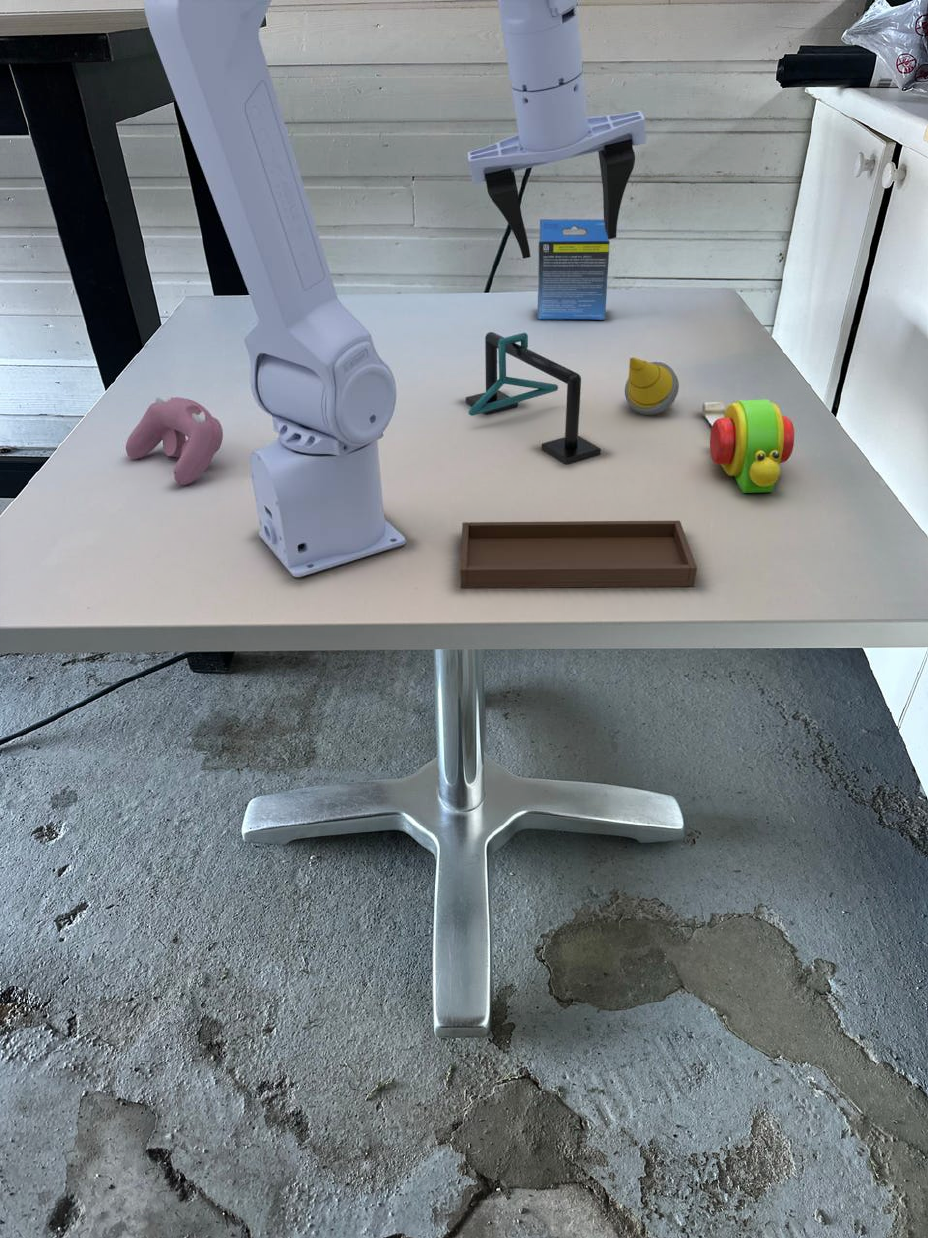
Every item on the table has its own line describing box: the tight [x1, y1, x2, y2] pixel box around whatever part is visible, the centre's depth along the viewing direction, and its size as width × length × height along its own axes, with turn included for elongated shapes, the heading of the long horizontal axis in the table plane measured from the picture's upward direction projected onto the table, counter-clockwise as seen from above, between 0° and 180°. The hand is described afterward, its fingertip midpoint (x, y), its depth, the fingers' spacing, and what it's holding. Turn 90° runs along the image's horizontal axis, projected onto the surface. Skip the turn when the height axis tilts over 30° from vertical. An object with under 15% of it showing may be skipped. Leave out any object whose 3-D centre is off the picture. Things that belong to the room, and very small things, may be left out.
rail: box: [465, 331, 602, 465], centre depth 87 cm, size 4×18×8 cm, turn 31°
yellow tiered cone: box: [624, 356, 680, 416], centre depth 89 cm, size 5×5×10 cm
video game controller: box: [125, 396, 224, 486], centre depth 82 cm, size 10×5×7 cm, turn 47°
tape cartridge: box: [536, 218, 611, 321], centre depth 114 cm, size 9×4×12 cm, turn 83°
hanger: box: [467, 332, 559, 417], centre depth 88 cm, size 11×1×7 cm, turn 121°
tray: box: [459, 520, 698, 589], centre depth 67 cm, size 17×7×2 cm, turn 89°
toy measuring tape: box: [701, 398, 795, 494], centre depth 80 cm, size 6×19×7 cm, turn 0°
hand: (568, 243), depth 80 cm, fingers open, 7 cm apart
